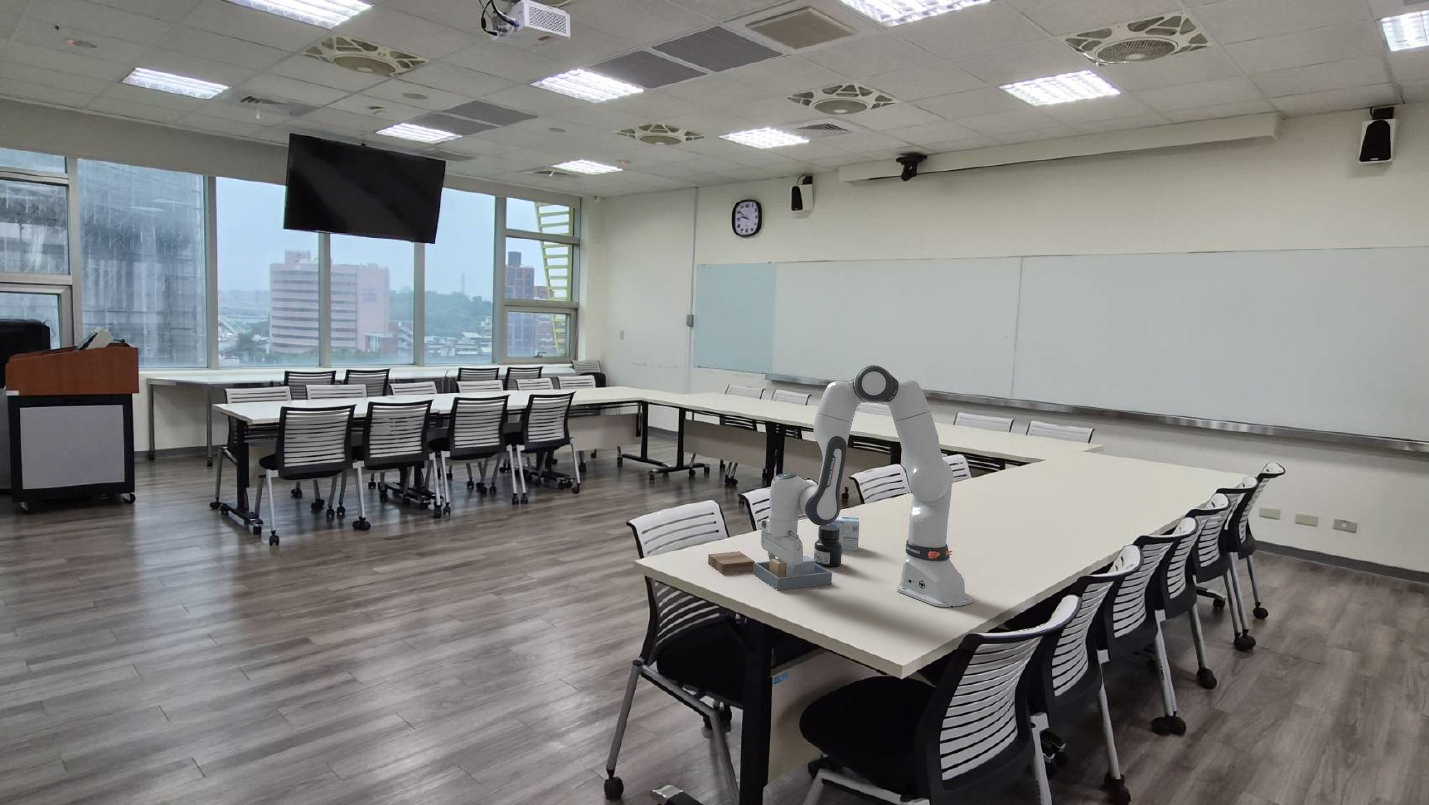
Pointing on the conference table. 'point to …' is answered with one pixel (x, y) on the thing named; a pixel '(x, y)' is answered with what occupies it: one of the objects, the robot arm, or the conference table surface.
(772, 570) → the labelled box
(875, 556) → the conference table surface
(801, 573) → the plain box
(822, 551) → the ink bottle
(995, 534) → the conference table surface
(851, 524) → the light bulb box
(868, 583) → the conference table surface
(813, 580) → the parts tray
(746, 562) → the walnut stand
